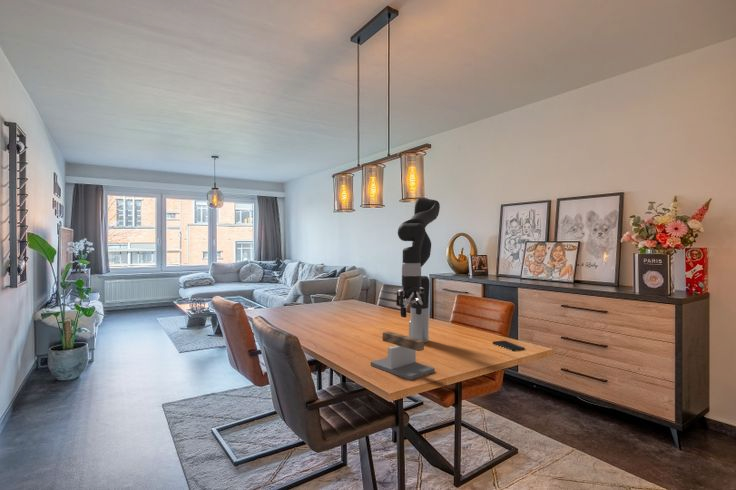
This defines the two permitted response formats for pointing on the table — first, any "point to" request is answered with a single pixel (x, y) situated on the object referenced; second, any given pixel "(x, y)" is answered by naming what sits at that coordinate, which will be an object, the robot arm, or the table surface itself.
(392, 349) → the stand
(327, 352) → the table surface
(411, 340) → the walnut bar
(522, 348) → the phone
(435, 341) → the table surface
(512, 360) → the table surface
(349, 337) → the table surface
